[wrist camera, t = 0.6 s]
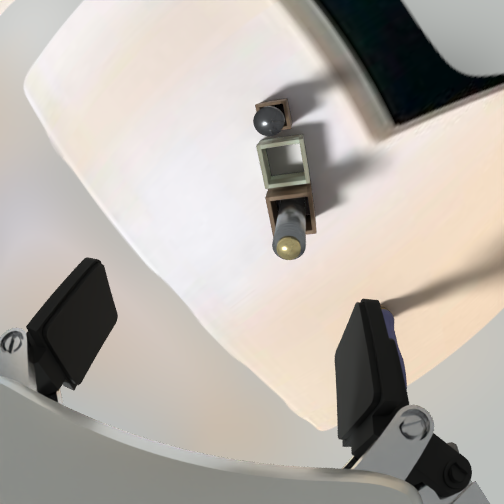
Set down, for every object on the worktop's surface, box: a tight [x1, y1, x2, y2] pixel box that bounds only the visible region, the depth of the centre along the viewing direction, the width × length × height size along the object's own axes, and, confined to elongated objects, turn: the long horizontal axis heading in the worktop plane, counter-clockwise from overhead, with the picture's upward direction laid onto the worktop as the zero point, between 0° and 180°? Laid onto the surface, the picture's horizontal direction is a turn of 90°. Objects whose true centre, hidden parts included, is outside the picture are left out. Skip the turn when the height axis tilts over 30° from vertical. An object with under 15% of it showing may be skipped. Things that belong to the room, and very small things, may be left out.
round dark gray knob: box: [253, 106, 285, 136], centre depth 24 cm, size 2×2×6 cm
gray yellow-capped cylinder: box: [272, 197, 306, 260], centre depth 29 cm, size 3×3×11 cm
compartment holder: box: [255, 98, 316, 238], centre depth 29 cm, size 5×14×4 cm, turn 12°
